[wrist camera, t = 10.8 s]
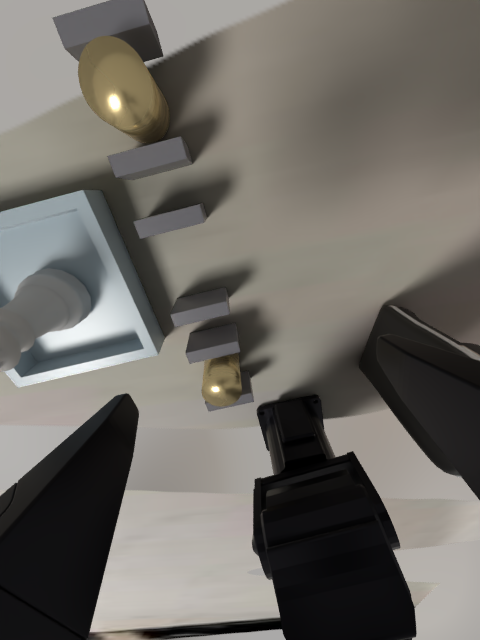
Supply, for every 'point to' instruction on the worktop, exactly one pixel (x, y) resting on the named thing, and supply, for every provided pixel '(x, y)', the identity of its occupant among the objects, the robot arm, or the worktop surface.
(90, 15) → the grey small pieces
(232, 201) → the worktop surface
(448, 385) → the robot arm
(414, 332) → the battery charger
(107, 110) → the brass peg
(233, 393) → the brass peg
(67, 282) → the rook chess piece
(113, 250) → the tray
